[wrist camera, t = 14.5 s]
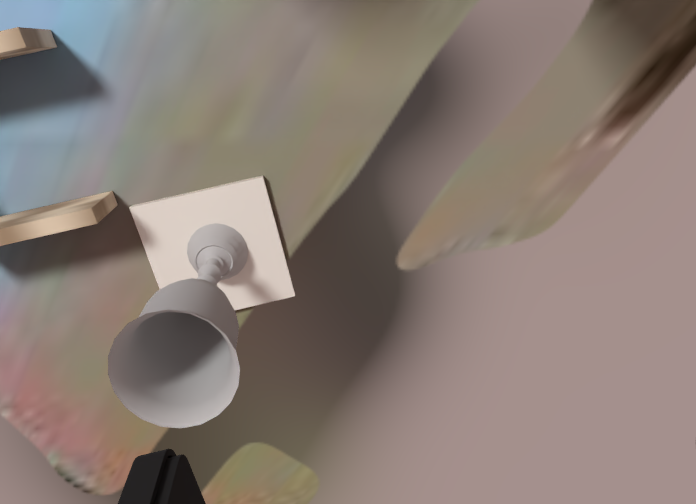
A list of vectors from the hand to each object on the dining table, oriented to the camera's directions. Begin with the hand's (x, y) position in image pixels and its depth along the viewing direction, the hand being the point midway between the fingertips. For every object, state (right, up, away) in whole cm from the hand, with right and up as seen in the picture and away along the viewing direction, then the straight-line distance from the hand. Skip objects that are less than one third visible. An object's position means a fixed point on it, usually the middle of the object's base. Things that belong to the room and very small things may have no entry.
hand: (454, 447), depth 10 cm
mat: (-13, +3, +36) cm, 39 cm away
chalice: (-13, +3, +36) cm, 38 cm away
